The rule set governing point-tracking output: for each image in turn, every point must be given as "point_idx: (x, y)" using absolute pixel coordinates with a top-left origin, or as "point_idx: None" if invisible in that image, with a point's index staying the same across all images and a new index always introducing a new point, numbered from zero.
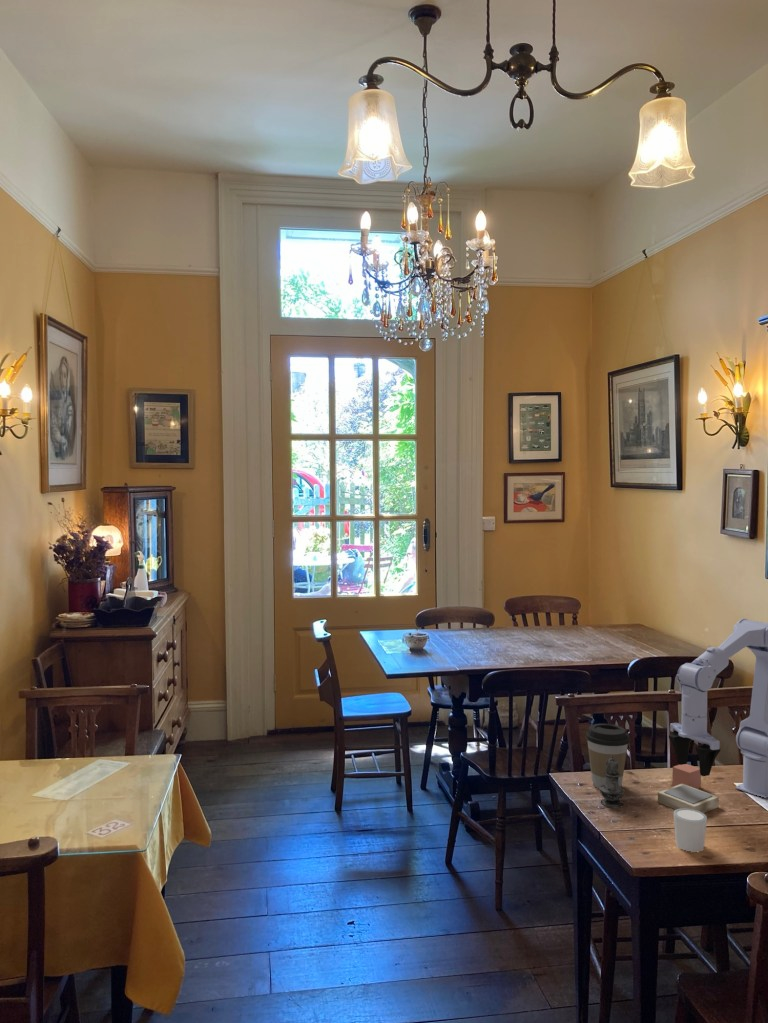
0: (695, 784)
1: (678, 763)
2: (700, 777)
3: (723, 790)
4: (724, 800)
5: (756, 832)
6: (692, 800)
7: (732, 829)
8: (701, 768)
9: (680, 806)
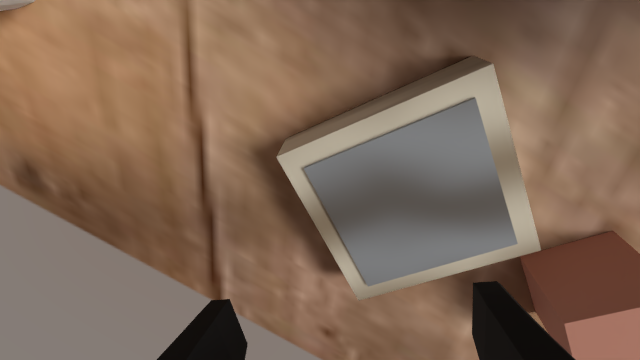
0: (538, 302)
1: (495, 284)
2: None
3: None
4: (405, 316)
5: (160, 265)
6: (335, 183)
7: (177, 212)
8: (174, 347)
9: (348, 118)
